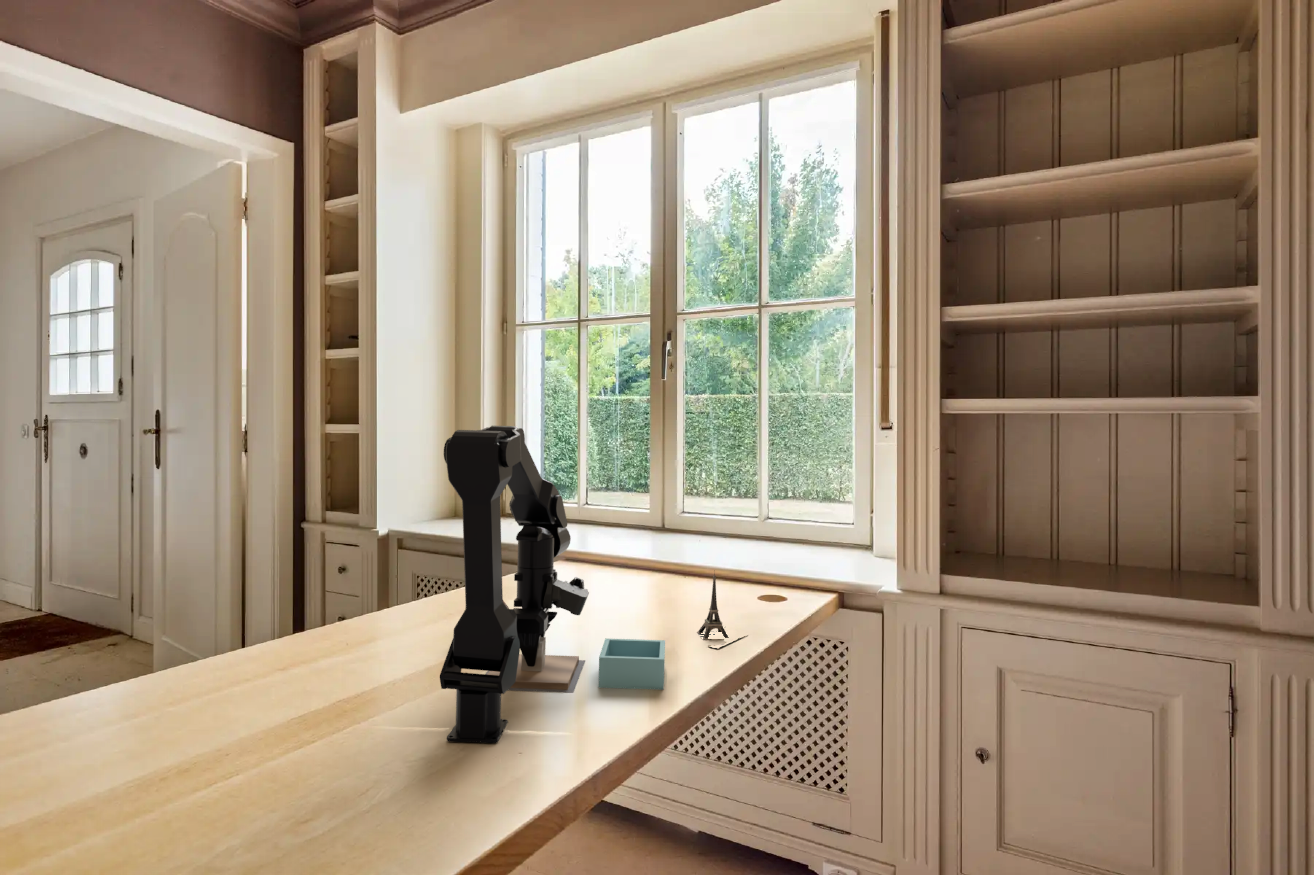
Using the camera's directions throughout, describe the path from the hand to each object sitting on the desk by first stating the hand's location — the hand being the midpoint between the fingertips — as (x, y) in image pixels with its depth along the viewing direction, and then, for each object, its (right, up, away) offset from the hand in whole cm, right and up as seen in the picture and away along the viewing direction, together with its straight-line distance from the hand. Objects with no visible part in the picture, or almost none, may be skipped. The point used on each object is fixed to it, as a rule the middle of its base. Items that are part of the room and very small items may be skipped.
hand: (533, 662), depth 118 cm
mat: (0, -2, 0) cm, 2 cm away
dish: (+16, -3, 0) cm, 16 cm away
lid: (0, -2, 0) cm, 2 cm away
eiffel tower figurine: (+31, -3, +25) cm, 40 cm away
